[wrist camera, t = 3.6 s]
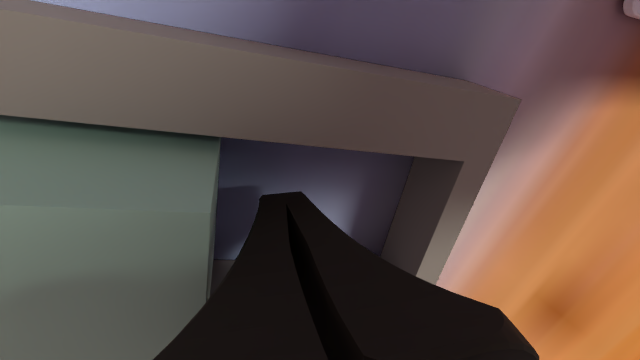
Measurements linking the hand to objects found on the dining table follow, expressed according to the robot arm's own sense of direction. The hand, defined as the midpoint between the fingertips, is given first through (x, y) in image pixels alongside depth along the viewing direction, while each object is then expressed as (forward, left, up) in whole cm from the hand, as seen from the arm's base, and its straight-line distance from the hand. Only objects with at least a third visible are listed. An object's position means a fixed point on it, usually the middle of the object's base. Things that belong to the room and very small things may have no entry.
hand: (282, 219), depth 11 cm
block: (+5, 0, -1) cm, 5 cm away
